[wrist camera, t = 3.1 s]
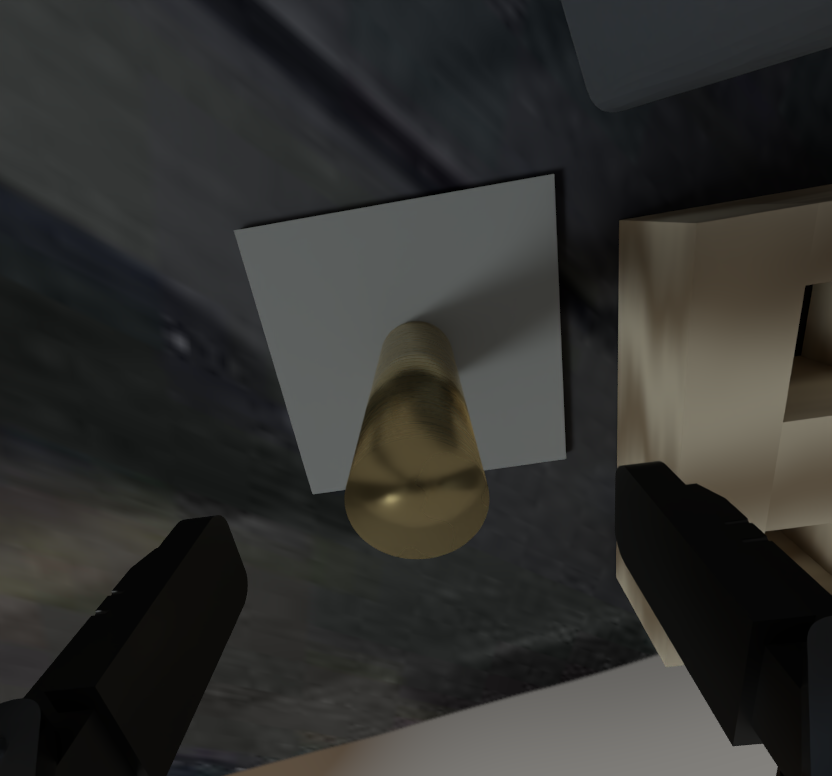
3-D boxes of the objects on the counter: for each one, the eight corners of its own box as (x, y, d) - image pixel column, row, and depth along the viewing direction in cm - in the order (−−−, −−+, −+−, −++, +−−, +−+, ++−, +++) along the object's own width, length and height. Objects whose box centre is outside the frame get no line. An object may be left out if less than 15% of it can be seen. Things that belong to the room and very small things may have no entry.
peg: (374, 327, 18) (329, 449, 9) (447, 315, 18) (481, 428, 8) (388, 394, 19) (361, 567, 10) (457, 383, 19) (495, 549, 10)
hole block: (619, 220, 17) (697, 223, 12) (922, 168, 16) (1125, 151, 12) (616, 577, 23) (665, 667, 19) (831, 550, 23) (937, 636, 18)
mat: (237, 230, 17) (233, 230, 17) (551, 174, 16) (554, 173, 16) (314, 489, 21) (312, 494, 21) (563, 454, 21) (566, 458, 20)
